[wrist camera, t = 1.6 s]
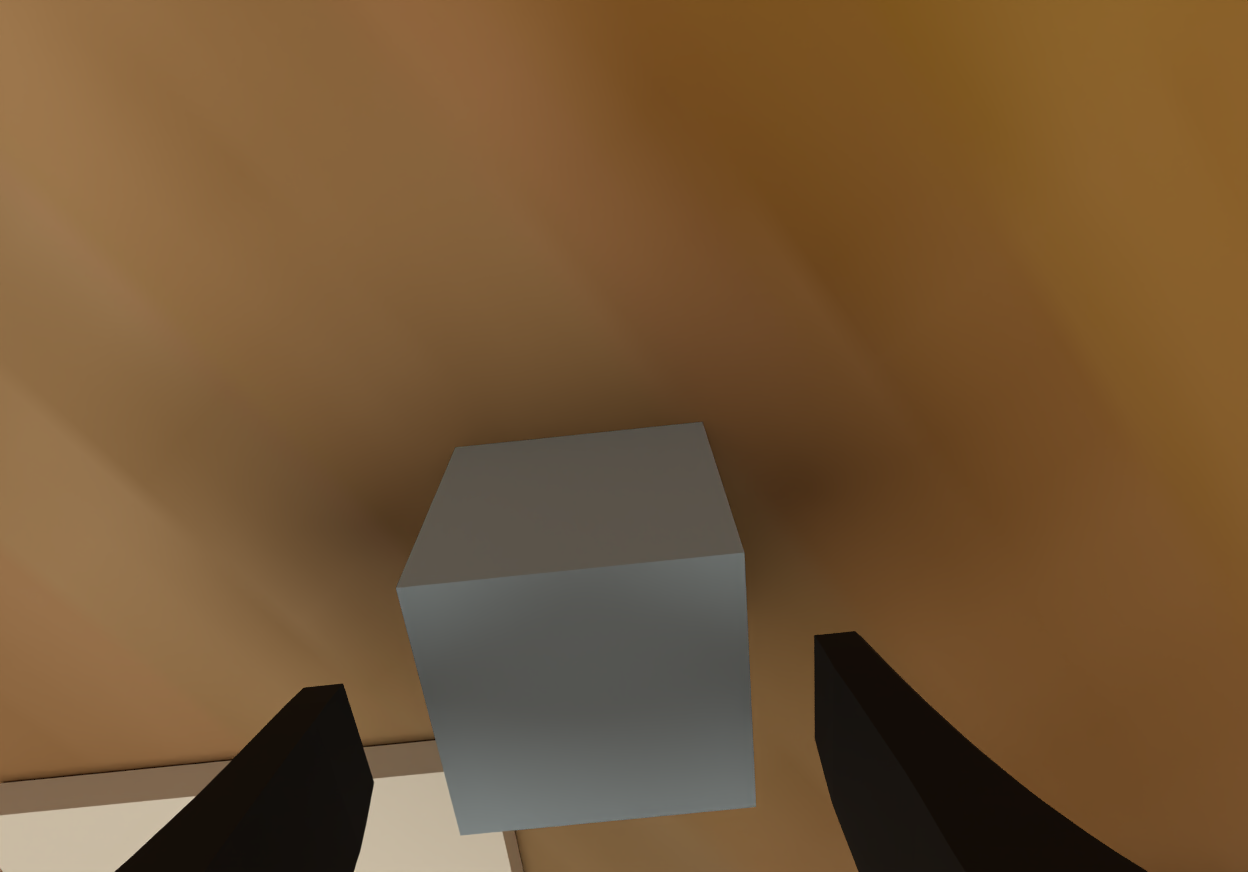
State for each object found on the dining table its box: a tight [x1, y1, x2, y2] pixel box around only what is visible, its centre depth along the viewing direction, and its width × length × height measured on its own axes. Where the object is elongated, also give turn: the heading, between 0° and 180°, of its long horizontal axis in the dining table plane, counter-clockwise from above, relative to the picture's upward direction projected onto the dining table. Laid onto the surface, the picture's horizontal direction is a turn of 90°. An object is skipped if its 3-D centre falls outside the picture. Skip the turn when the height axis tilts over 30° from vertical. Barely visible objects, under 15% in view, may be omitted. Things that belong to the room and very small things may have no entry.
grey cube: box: [396, 422, 756, 836], centre depth 14 cm, size 5×5×5 cm
